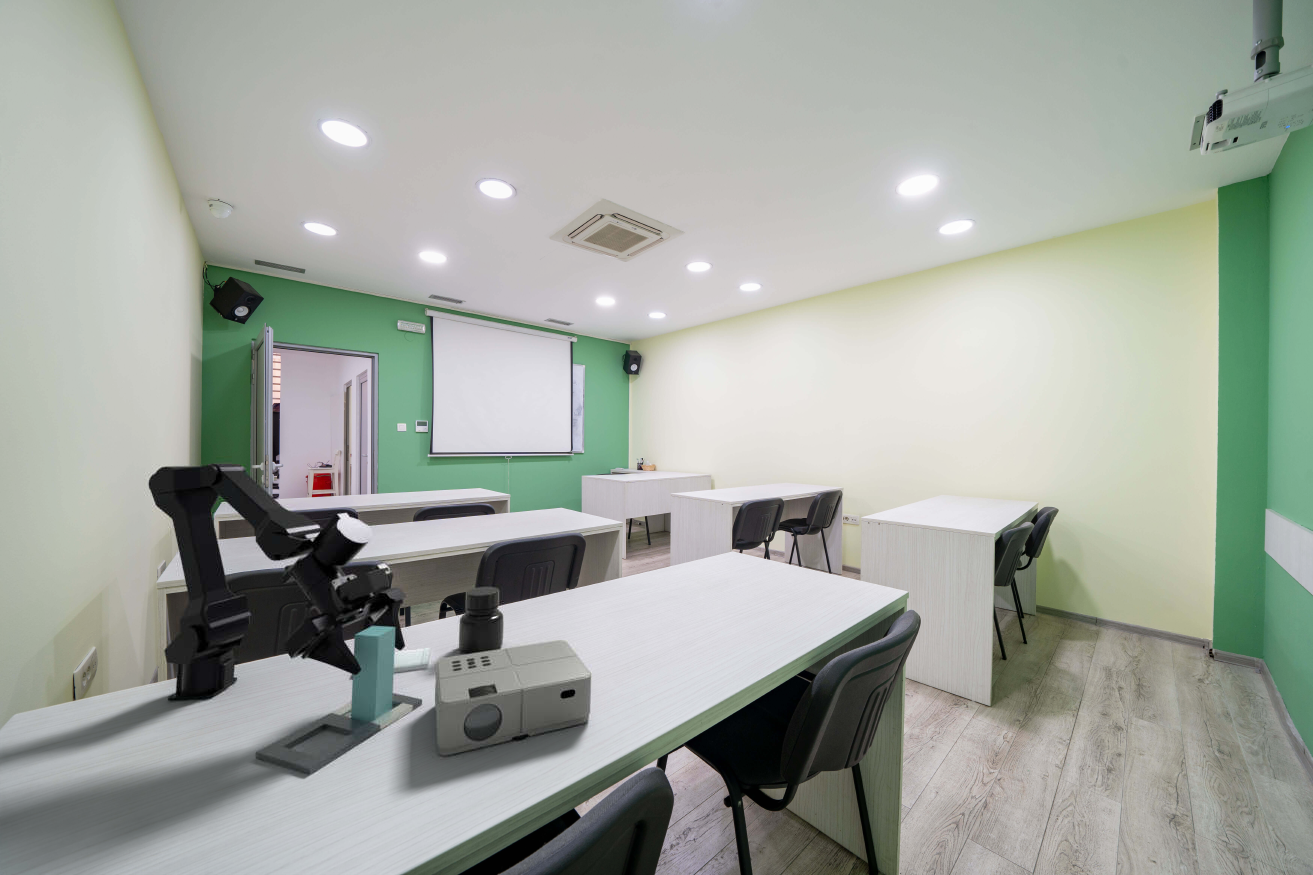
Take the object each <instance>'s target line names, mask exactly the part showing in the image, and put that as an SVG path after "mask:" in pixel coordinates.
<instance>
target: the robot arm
mask: <svg viewBox="0 0 1313 875" xmlns="http://www.w3.org/2000/svg"><path fill="white" fill-rule="evenodd" d="M148 488H149V490H150V493H151V496H152V498H153V501H154V504H155V506H156V507H157V508H158V509H160V510H161V512H163V513H164V514H166V515H167V516H168V517H169V518H170V519H171V520H172V523H173V529H174V534H175V538H176V543H177V548H178V552H179V553H178V554H179V558H180V561H181V566H182V567H181V568H182V572H183V577H184V581H185V586H186V589H187V590H186V591H187V595H188V603H187V605H186V607H185V609H184V611H183V613H182V615H181V617H180V620H179V624H180V629H179V630H180V633H179V634H178V635H177V636H176V637H175V638H174V639H173V640H172V641H171V642H170V643H169V644H168V645H167V647H166V648H165V649H164V655H165V660H166V663H168V664H175V665H176V666H177V668H176V669H177V670H176V683H175V692H174V693H172V694H170V695H169V696H167V701H176V700H177V701H179V700H180V701H182V700H194V699H196V700H197V699H198V700H199V699H209V698H214V697H215V696H216V695H218V694H219V693H221V692H222V691H224V690H225V689H227V688H228V687H230V686H232V685H233V684H234V683H235V682H237V681H238V677H235V666H236V663H235V662H236V659H235V658H234V657H233V650H234V649H235V648H238V647H242V646H243V643H244V640H245V638H246V635H247V633H248V630H249V628H250V625H251V619H250V618H251V617H252V613H251V612H250V610H249V606H248V598H247V597H246V596H245V595H244V594H241V595H238V596H237V595H236V594H235V593H234V592H232V591H231V590H230V589H229V586H228V581H227V577H226V574H225V568H224V564H223V560H222V559H223V558H222V554H221V551H220V546H219V541H218V536H217V532H216V528H215V523H214V519H213V518H214V517H213V512H212V510H213V508H214V507H215V505H216V502H217V501H218V499H219V497H221V498H222V499H223V500H224V501H225V502H226V503H227V504H228V505H229V506H230V507H232V508H233V509H234V510H235V512H237V513H238V514H239V515H240V516H241V518H243V519H244V520H245V521H246V522H247V523H248V524H249V525H250V526H252V528H253V530H255V543H256V544H257V545H258V547H259V548H260V550H261V551H262V552H263V554H264V556H266V557H267V558H268V559H269V560H270V561H274V562H278V561H286V560H289V559H293V558H298V559H297V560H295V562H294V563H293V564H290V565H289V564H288V565H286V566H285V567H284V572H283V574H282V577H281V584H288V583H292V582H294V581H296V583H297V584H298V586H299V587H300V588H301V590H302V591H303V593H304V594H305V596H307V598H308V599H309V601H308V602H307V603H306V604H305V607H306V609H307V610H308V611H310V610H314V609H316V611H317V612H318V613H319V614H316V615H314V616H312V617H309V618H306V619H304V620H302V622H300V624H299V625H298V626H297V627H296V628H295V629H294V630H293V631H292V633H290V635H288V637H286V639H285V641H284V651H286V653H287V655H288V656H289V658H290V659H295V658H297V657H299V656H300V659H302V660H306V659H310V660H313V661H317V662H320V663H322V664H326V665H329V666H331V667H334V668H337V669H339V670H342V671H344V672H346V673H349V674H352V675H353V674H354V675H357V674H358V673H359V672H360V671H361V667H360V665H359V663H358V661H357V660H356V658H355V657H354V653H353V652H352V651H351V649H350V648H349V646H348V645H347V643H346V641H345V640H344V637H343V636H344V634H343V632H344V631H343V628H346V627H348V626H349V625H351V624H354V623H357V622H358V621H362V620H365V621H366V623H367V622H368V623H371V625H370V626H369V627H371V626H384V627H395V650H398V651H403V650H404V648H406V644H405V639H404V636H403V631H402V627H401V624H400V619H399V613H400V609H401V607H402V606H403V604H404V600H405V599H406V598H407V594H406V593H405V592H404V591H403V590H402V589H401V587H394V586H393V587H391V588H389V587H390V586H391V583H390V582H391V581H393V578H394V572H393V571H392V569H391V568H390V567H389V566H388V565H387V564H386V563H380V564H378V565H376V566H374V567H371V568H369V571H368V572H365V573H364V574H361V575H358V576H357V575H355V574H353V573H352V574H347V575H346V574H345V573H344V571H343V570H342V568H341V567H343V566H346V565H349V563H351V561H352V560H353V559H354V558H355V557H356V556H357V555H358V554H359V553H360V552H361V551H362V550H363V549H364V548H365V547H366V545H367V544H369V543H370V541H372V539H373V537H374V536H373V535H374V534H373V531H372V529H371V527H370V526H369V525H368V524H367V523H365V522H363V521H362V520H360V519H357V518H354V517H352V516H350V515H349V514H348V512H340V513H336V514H334V515H333V516H332V517H331V519H330V521H329V522H328V523H327V524H326V525H325V527H323V528H322V527H320V525H319V524H318V523H317V522H315V521H313V520H311V519H310V518H309V517H307V516H305V515H304V514H301V513H298V512H297V513H296V512H294V511H291V510H288V509H286V508H285V507H284V506H282V504H280V503H279V502H278V501H277V500H276V499H275V498H274V497H273V496H272V495H270V494H269V492H268V491H267V490H265V489H264V488H263V487H262V486H261V485H260V484H258V482H256V481H255V480H254V479H253V478H252V477H251V476H250V475H249V473H247V471H246V469H245V467H244V466H243V465H241V464H238V463H234V462H233V463H225V462H224V463H209V464H206V465H182V466H181V465H180V466H179V465H178V466H177V465H174V466H173V465H169V466H163V467H160V468H158V469H157V470H156V472H154V473H153V474H152V475H151V476H150V478H149V480H148ZM383 588H384V589H386V590H383V591H380V592H379V593H378V594H377V595H376V596H375V597H374V594H373V593H375V592H377V591H379V590H382V589H383ZM387 588H389V589H387ZM373 597H374V598H373ZM372 598H373V599H372ZM371 599H372V600H371ZM370 600H371V601H370ZM368 601H370V602H369V603H368V604H367V602H368Z"/></svg>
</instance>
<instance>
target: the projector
mask: <svg viewBox="0 0 1313 875" xmlns="http://www.w3.org/2000/svg"><path fill="white" fill-rule="evenodd" d="M591 697H592V672H591V671H590V670H589V669H588V667H587V666H586V665H585V663H584V662H583V661H582V659H581V658H580V657H579V655H578V654H577V653H576V652H575V650H574V649H573V648H572V647H571V645H570V643H569V642H568V641H566V640H562V639H558V640H551V641H546V642H537V643H532V644H526V645H525V644H524V645H519V646H513V647H512V646H511V647H507V648H499V649H497V650H492V651H485V652H479V653H472V654H460V655H453V656H448V657H447V656H446V657H443V658H441V659H439V660H438V661H436V664H435V685H434V708H435V709H434V710H435V711H434V712H435V728H436V731H435V732H436V745H437V750H438V751H437V752H438V753H439V754H440V755H441V756H451V755H454V754H458V753H462V752H467V751H472V750H476V749H480V748H485V747H489V746H492V745H497V744H501V743H505V742H509V741H512V740H515V741H521V740H524V739H525V738H526V737H527V736H529V737H531V736H535V735H539V734H543V733H548V732H551V731H555V730H556V731H557V730H560V729H564V728H568V727H573V726H576V725H577V726H578V725H582V724H585V723H587V722H588V721H589V719H590V714H591V700H592V699H591Z"/></svg>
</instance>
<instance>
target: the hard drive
mask: <svg viewBox="0 0 1313 875" xmlns="http://www.w3.org/2000/svg"><path fill="white" fill-rule="evenodd" d="M431 650H432V648H431V647H428V648H420V649H419V648H418V649H410V650H398V651H394V673H395V674H396V673H402V672H408V671H409V672H410V671H411V672H412V671H416V670H424V669H428V668H429V664H430V657H431V653H432V652H431ZM430 652H431V653H430Z"/></svg>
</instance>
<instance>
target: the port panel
mask: <svg viewBox="0 0 1313 875" xmlns="http://www.w3.org/2000/svg"><path fill="white" fill-rule="evenodd" d="M351 705H352V701H351V702H349V703H347V704H344V705H343V706H340V707H339V708H337V709H335V710H333V711H331V712H330V713H328V714H326V715H324V716H322V717H320V718H318V719H316V720H314V721H313V722H311V723H308V724H307V725H305V726H302V727H301V728H300V729H297V730H296V731H293V732H292V733H290V734H288V735H286V736H284V737H282V738H281V739H279V740H276V741H275V742H272V743H271V744H269V745H267V746H265V747H263V748H261V749H259V750H257V751H256V752H255V759H257V760H260V761H264V762H267V763H270V764H274V765H277V766H280V767H283V768H287V769H290V770H293V771H297V772H299V773H303V774H307V775H309V776H310V775H312V774H314V773H315V772H317V771H318V770H320V769H322V768H323V767H325V766H326V765H328V764H329V763H331V762H332V761H334V760H336V759H338V758H339V757H340V756H342V755H343V754H344V755H345V754H346V753H347V752H348V751H350V750H352V749H353V748H355V747H357V746H358V745H360V744H362V743H363V742H365V741H366V740H368V739H369V738H370V737H371V738H372V736H374V735H376V734H377V733H379V732H380V731H382V730H384V729H385V728H386V727H388V726H390V725H391V724H393V723H395V722H396V721H398V720H399V719H402V717H404V716H405V715H407V714H409V713H410V712H412V711H413V710H415V709H417V708H418V707H420V706H422V705H423V698H418V697H413V696H408V695H404V694H400V693H399V694H398V693H394V692H393V699H392V707H394V708H392V709H391V710H390V711H389V712H387V713H385V714H384V715H382V716H380V717H379V718H377V719H375V720H374V721H372V722H366V721H362V720H358V719H354V718H351ZM349 716H350V717H349ZM324 730H326V731H331V732H333V733H338V734H342V735H346V736H345V737H344V738H342V739H340V740H339V741H336V742H335V743H334V744H332V745H330V746H328V747H326V748H325V749H323V750H321V751H320V752H319V753H317V754H315V755H313V754H309V753H305V752H303V751H298V750H296V749H292V748H293V747H295V746H297V745H298V744H300V743H302V742H304V741H306V740H308V739H310V738H311V737H313V736H315V735H317V734H318V733H320V732H322V731H324Z"/></svg>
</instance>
